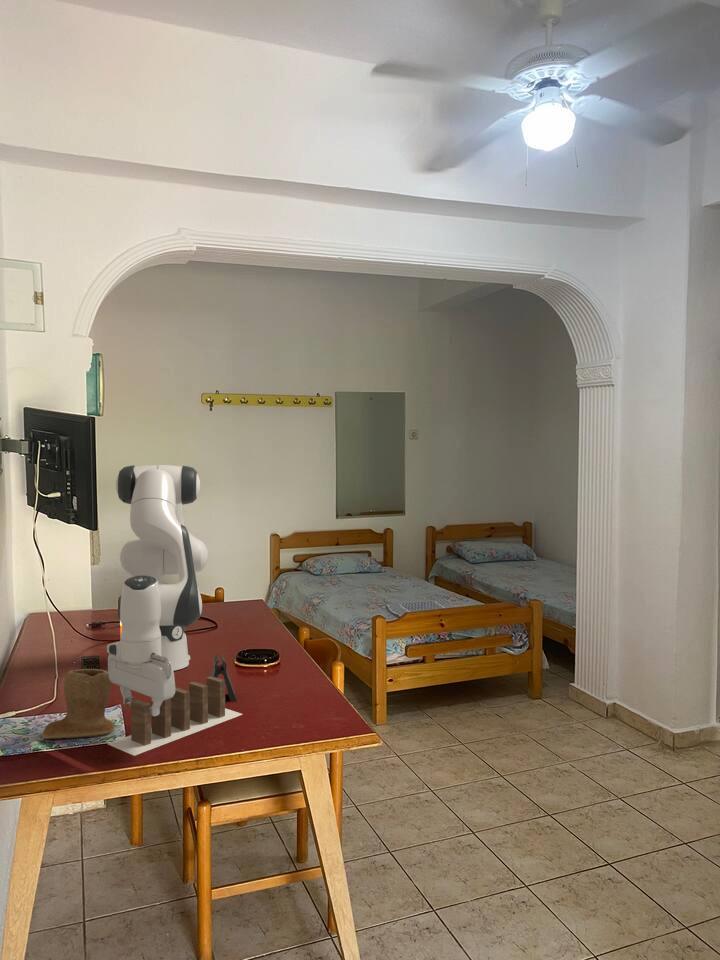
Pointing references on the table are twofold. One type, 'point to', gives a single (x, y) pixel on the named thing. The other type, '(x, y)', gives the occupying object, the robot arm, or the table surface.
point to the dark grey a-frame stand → (222, 670)
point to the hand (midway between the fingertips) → (141, 709)
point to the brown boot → (83, 706)
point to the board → (157, 741)
